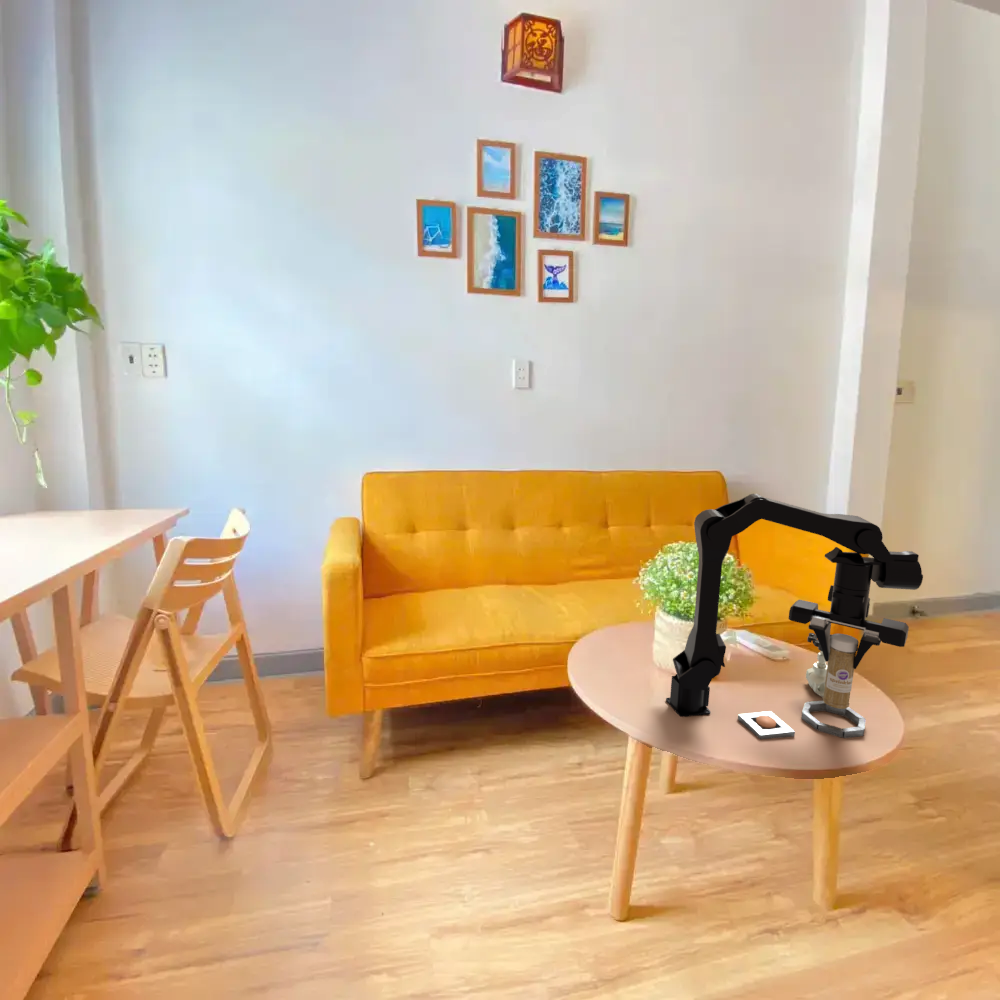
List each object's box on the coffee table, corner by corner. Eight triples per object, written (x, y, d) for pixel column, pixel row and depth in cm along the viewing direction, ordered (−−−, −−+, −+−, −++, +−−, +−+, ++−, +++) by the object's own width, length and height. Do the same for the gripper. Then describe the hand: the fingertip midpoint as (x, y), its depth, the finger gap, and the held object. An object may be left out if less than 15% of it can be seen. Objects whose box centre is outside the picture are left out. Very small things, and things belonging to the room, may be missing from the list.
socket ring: (828, 743, 109) (829, 733, 109) (790, 712, 119) (791, 703, 119) (877, 737, 111) (878, 727, 111) (836, 707, 121) (837, 698, 121)
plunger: (762, 737, 110) (763, 726, 110) (751, 727, 114) (752, 716, 113) (778, 735, 111) (780, 724, 110) (767, 725, 114) (768, 714, 114)
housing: (759, 745, 108) (760, 735, 108) (737, 723, 115) (738, 714, 115) (793, 741, 110) (795, 731, 109) (769, 720, 116) (770, 710, 116)
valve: (806, 696, 125) (812, 643, 123) (797, 681, 132) (803, 630, 129) (840, 700, 124) (847, 646, 122) (829, 684, 130) (836, 633, 128)
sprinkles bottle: (829, 709, 112) (838, 642, 109) (817, 696, 116) (826, 632, 114) (854, 710, 112) (864, 643, 109) (841, 697, 116) (850, 632, 114)
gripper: (917, 585, 110) (904, 664, 113) (806, 565, 121) (797, 637, 124) (911, 602, 101) (897, 686, 104) (792, 578, 113) (783, 655, 116)
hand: (840, 664), depth 113 cm, fingers closed on sprinkles bottle, 4 cm apart
